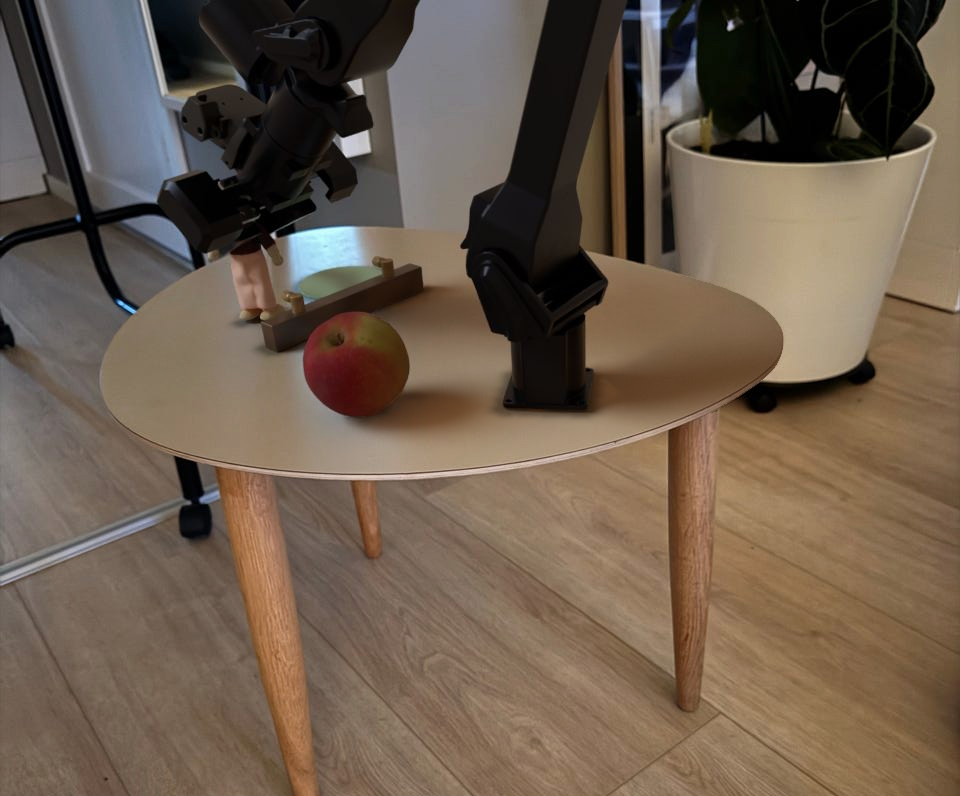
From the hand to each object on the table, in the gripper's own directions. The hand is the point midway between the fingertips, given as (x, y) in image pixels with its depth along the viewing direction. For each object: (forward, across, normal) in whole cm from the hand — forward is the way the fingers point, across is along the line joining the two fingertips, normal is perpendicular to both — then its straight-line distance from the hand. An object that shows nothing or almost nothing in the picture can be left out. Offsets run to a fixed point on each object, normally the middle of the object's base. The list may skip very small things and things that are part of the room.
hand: (232, 246), depth 88 cm
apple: (-11, +10, +22) cm, 26 cm away
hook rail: (+2, -5, +8) cm, 10 cm away
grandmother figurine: (+4, 0, +6) cm, 7 cm away
